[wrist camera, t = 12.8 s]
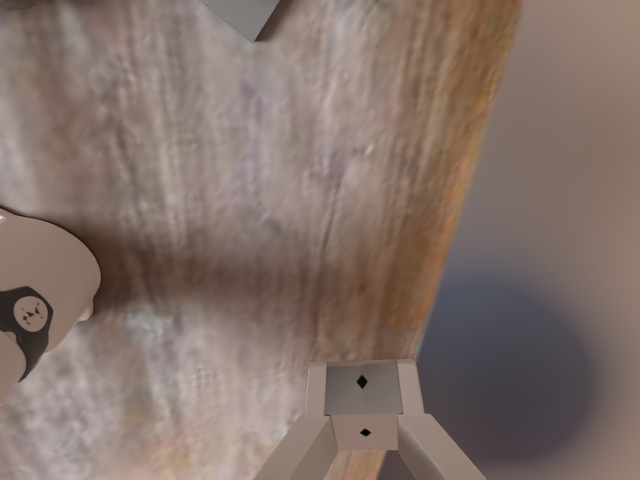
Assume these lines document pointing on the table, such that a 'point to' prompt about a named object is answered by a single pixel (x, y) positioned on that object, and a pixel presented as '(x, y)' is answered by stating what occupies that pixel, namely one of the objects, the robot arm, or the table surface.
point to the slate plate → (243, 14)
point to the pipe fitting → (16, 4)
